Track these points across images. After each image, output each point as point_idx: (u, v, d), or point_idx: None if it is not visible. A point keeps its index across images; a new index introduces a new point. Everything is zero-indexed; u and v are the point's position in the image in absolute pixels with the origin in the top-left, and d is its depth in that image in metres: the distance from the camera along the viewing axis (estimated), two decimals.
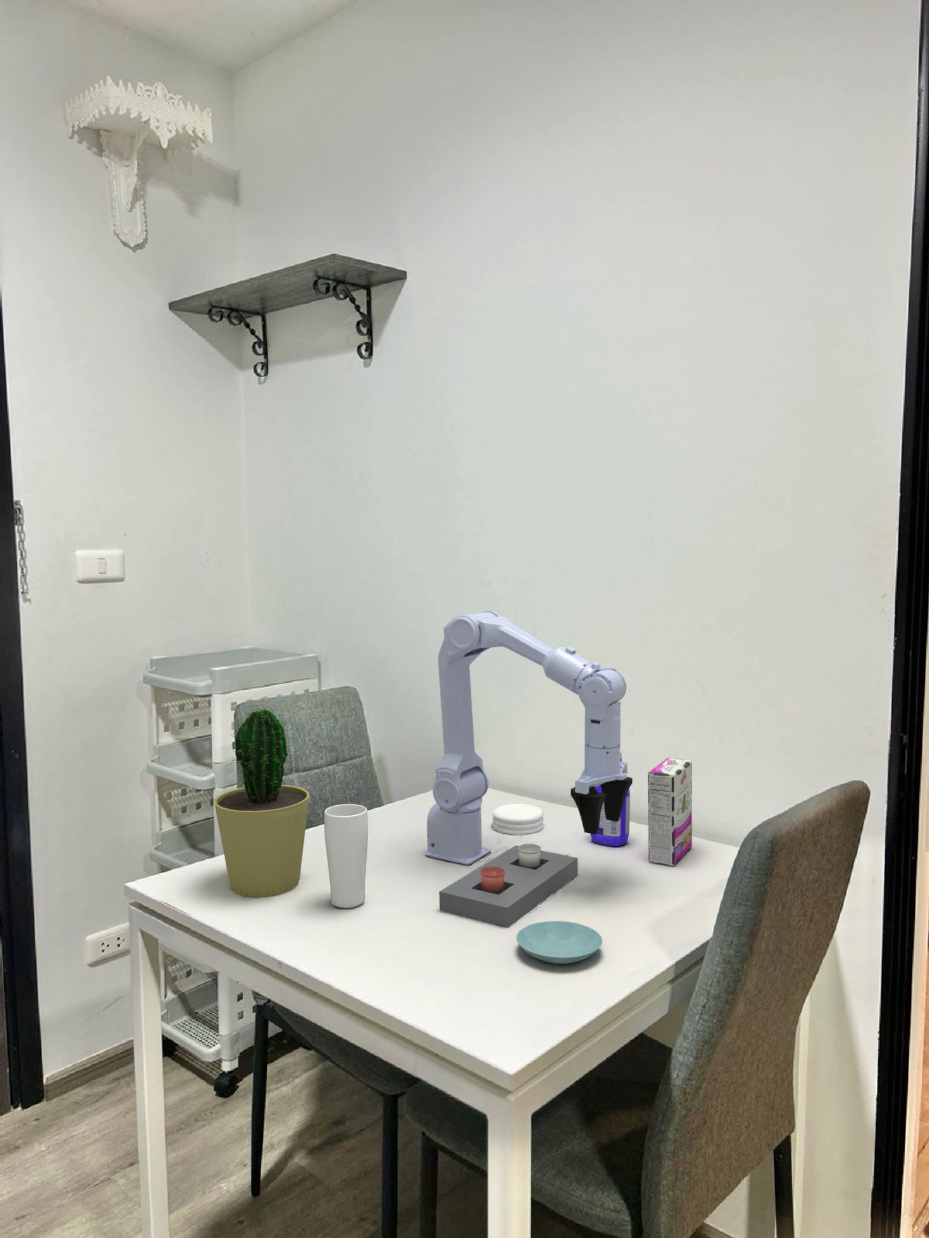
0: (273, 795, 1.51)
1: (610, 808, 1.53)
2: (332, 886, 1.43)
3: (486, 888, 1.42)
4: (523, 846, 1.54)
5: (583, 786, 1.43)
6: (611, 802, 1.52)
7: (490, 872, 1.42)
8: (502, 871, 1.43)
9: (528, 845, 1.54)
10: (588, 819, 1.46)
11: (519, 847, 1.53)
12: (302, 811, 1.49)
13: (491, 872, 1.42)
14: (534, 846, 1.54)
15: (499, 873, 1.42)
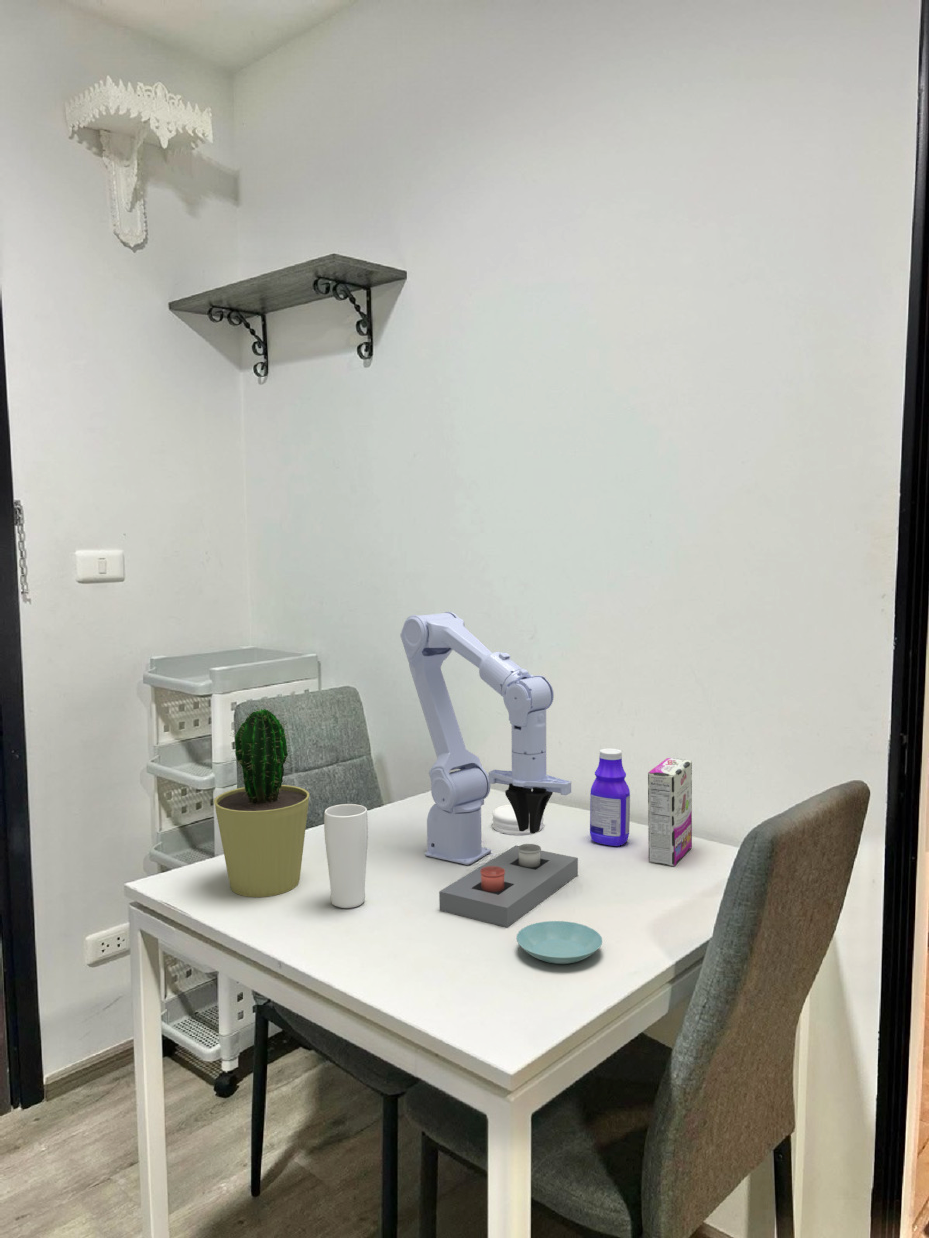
0: (273, 795, 1.51)
1: None
2: (332, 886, 1.43)
3: (486, 888, 1.42)
4: (523, 846, 1.54)
5: None
6: None
7: (490, 872, 1.42)
8: (502, 871, 1.43)
9: (528, 845, 1.54)
10: None
11: (519, 847, 1.53)
12: (302, 811, 1.49)
13: (491, 872, 1.42)
14: (534, 846, 1.54)
15: (499, 873, 1.42)
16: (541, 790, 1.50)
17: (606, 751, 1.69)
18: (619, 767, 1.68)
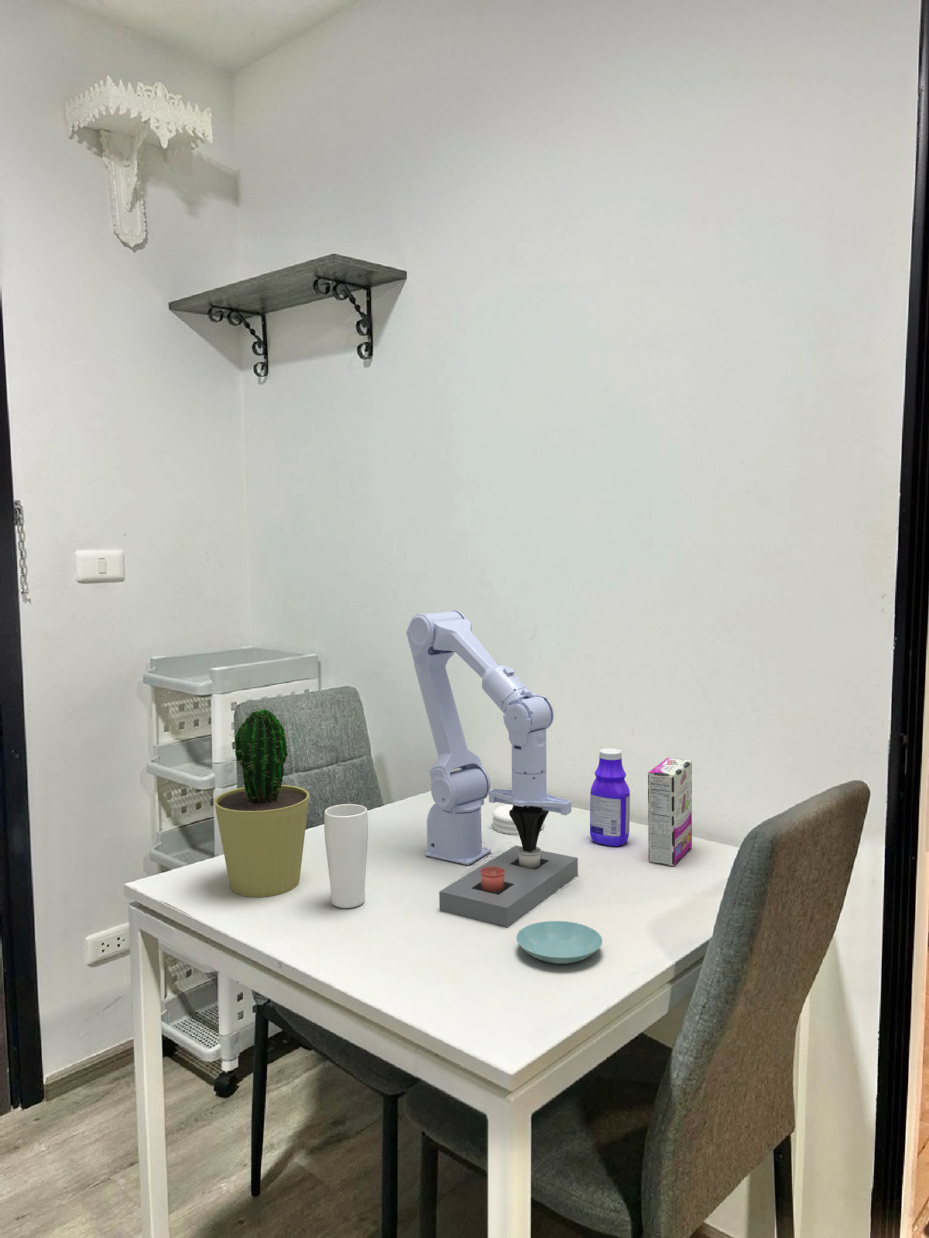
0: (273, 795, 1.51)
1: None
2: (332, 886, 1.43)
3: (486, 888, 1.42)
4: None
5: None
6: None
7: (490, 872, 1.42)
8: (502, 871, 1.43)
9: None
10: None
11: (519, 849, 1.53)
12: (302, 811, 1.49)
13: (491, 872, 1.42)
14: None
15: (499, 873, 1.42)
16: (537, 809, 1.51)
17: (606, 751, 1.69)
18: (619, 767, 1.68)
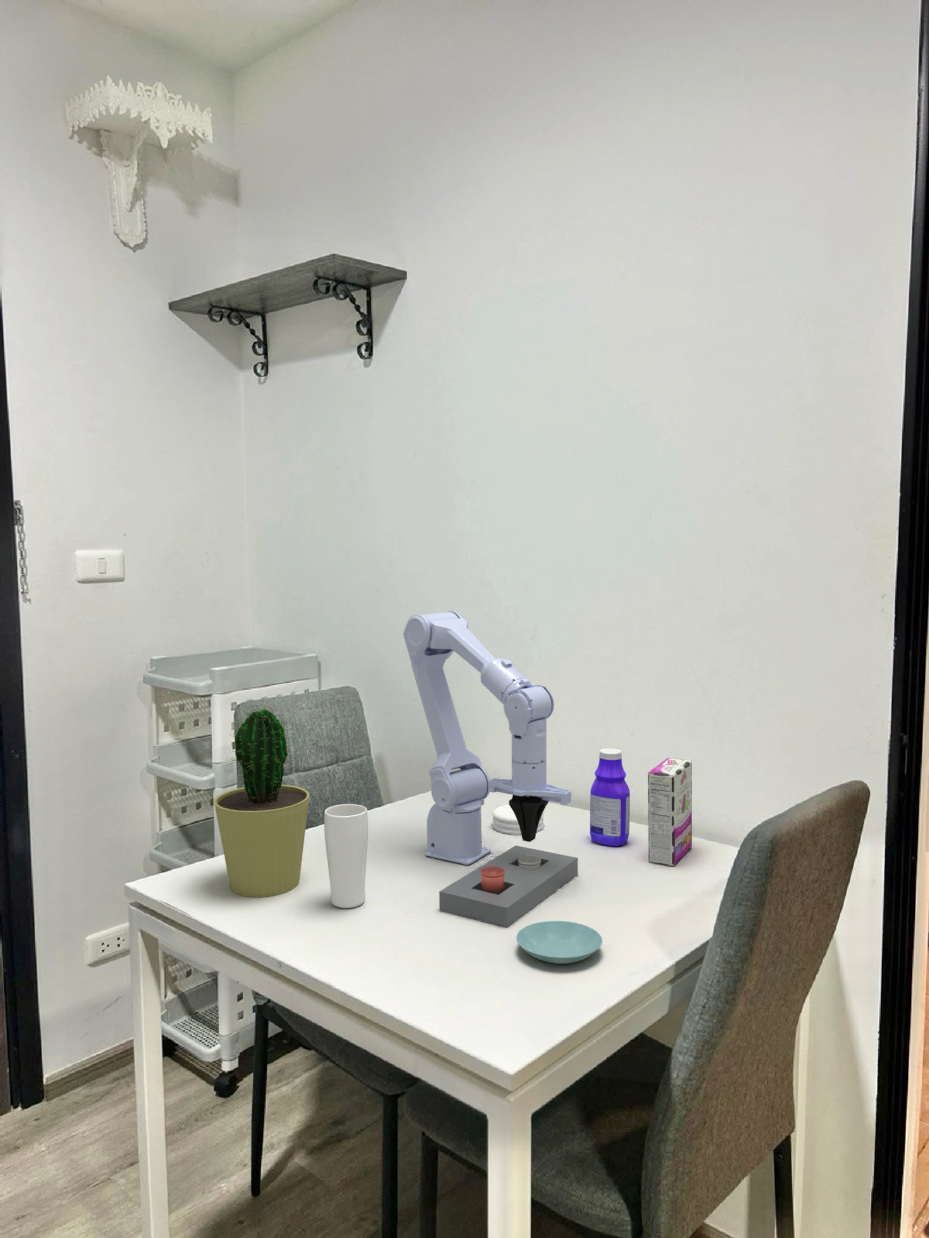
0: (273, 795, 1.51)
1: None
2: (332, 886, 1.43)
3: (486, 888, 1.42)
4: (523, 858, 1.54)
5: None
6: None
7: (490, 872, 1.42)
8: (502, 871, 1.43)
9: (528, 857, 1.54)
10: None
11: (519, 859, 1.53)
12: (302, 811, 1.49)
13: (491, 872, 1.42)
14: (534, 858, 1.54)
15: (499, 873, 1.42)
16: (537, 799, 1.50)
17: (606, 751, 1.69)
18: (619, 767, 1.68)
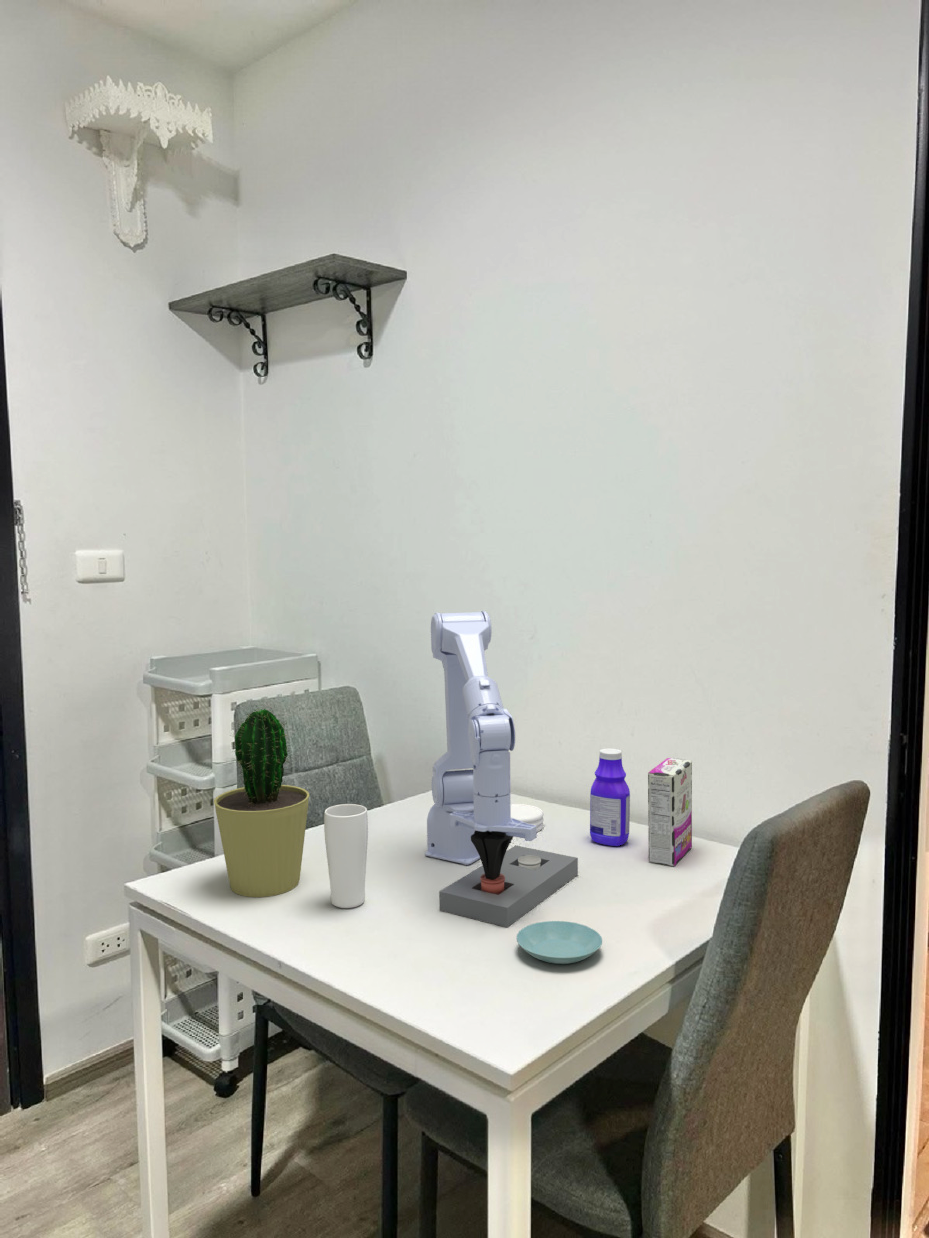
0: (273, 795, 1.51)
1: None
2: (332, 886, 1.43)
3: None
4: (523, 858, 1.54)
5: None
6: None
7: None
8: (502, 877, 1.43)
9: (528, 857, 1.54)
10: None
11: (519, 859, 1.53)
12: (302, 811, 1.49)
13: None
14: (534, 858, 1.54)
15: (499, 880, 1.42)
16: (500, 834, 1.41)
17: (606, 751, 1.69)
18: (619, 767, 1.68)
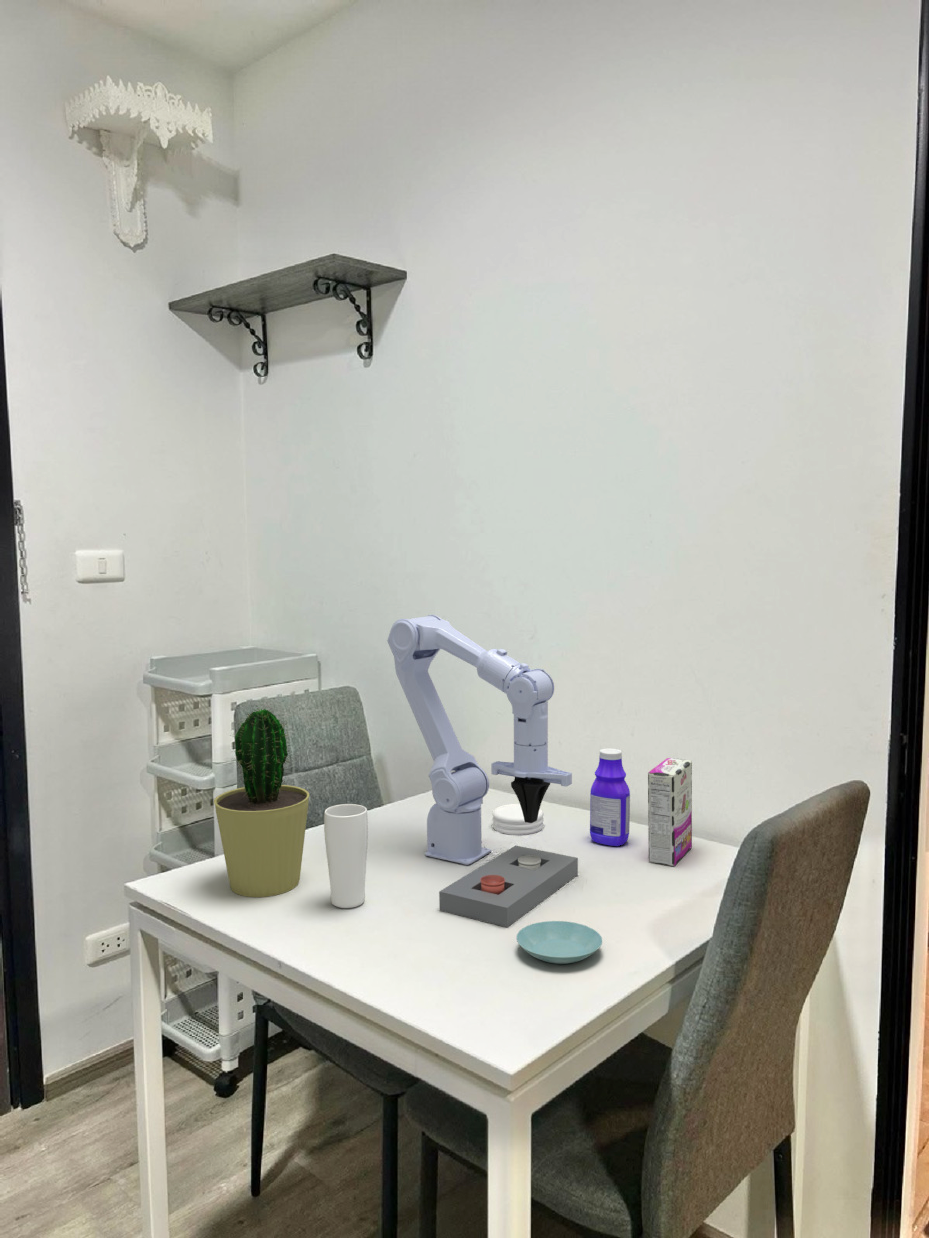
0: (273, 795, 1.51)
1: None
2: (332, 886, 1.43)
3: None
4: (523, 858, 1.54)
5: None
6: None
7: (490, 881, 1.42)
8: (502, 880, 1.43)
9: (528, 857, 1.54)
10: None
11: (519, 859, 1.53)
12: (302, 811, 1.49)
13: (491, 881, 1.42)
14: (534, 858, 1.54)
15: (499, 882, 1.42)
16: (538, 781, 1.53)
17: (606, 751, 1.69)
18: (619, 767, 1.68)
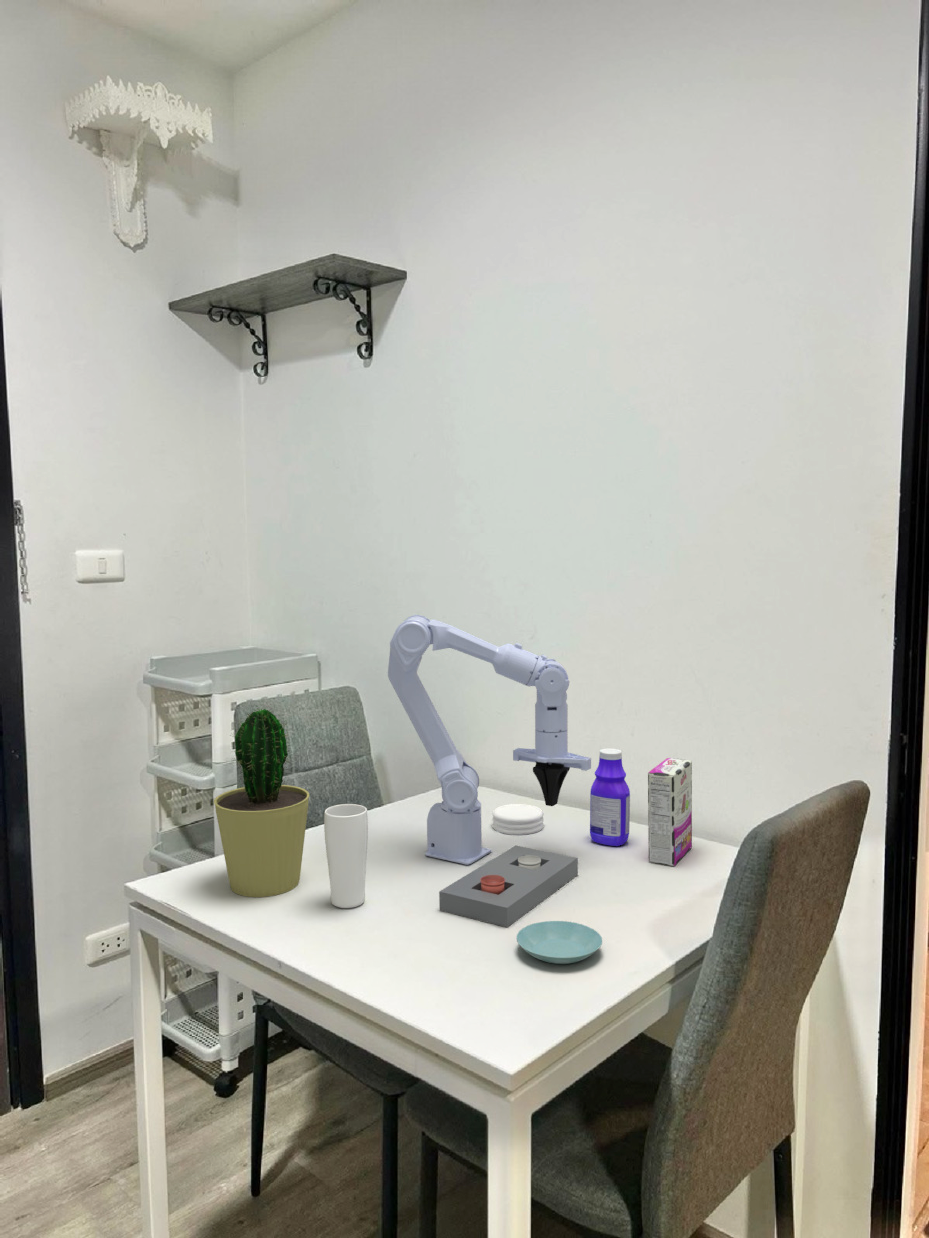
0: (273, 795, 1.51)
1: None
2: (332, 886, 1.43)
3: None
4: (523, 858, 1.54)
5: None
6: None
7: (490, 881, 1.42)
8: (502, 880, 1.43)
9: (528, 857, 1.54)
10: None
11: (519, 859, 1.53)
12: (302, 811, 1.49)
13: (491, 881, 1.42)
14: (534, 858, 1.54)
15: (499, 882, 1.42)
16: (559, 765, 1.61)
17: (606, 751, 1.69)
18: (619, 767, 1.68)
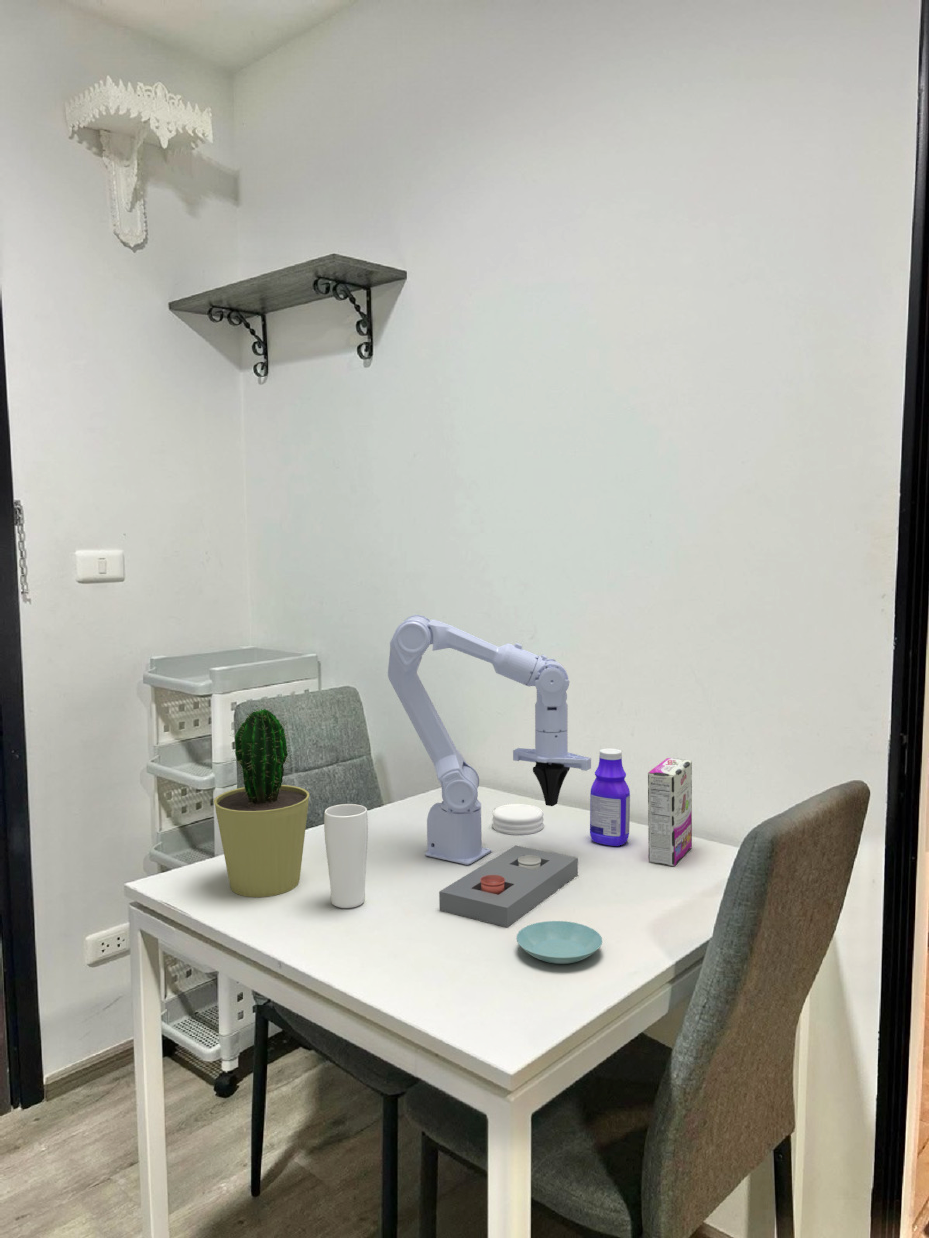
0: (273, 795, 1.51)
1: None
2: (332, 886, 1.43)
3: None
4: (523, 858, 1.54)
5: None
6: None
7: (490, 881, 1.42)
8: (502, 880, 1.43)
9: (528, 857, 1.54)
10: None
11: (519, 859, 1.53)
12: (302, 811, 1.49)
13: (491, 881, 1.42)
14: (534, 858, 1.54)
15: (499, 882, 1.42)
16: (559, 765, 1.61)
17: (606, 751, 1.69)
18: (619, 767, 1.68)
